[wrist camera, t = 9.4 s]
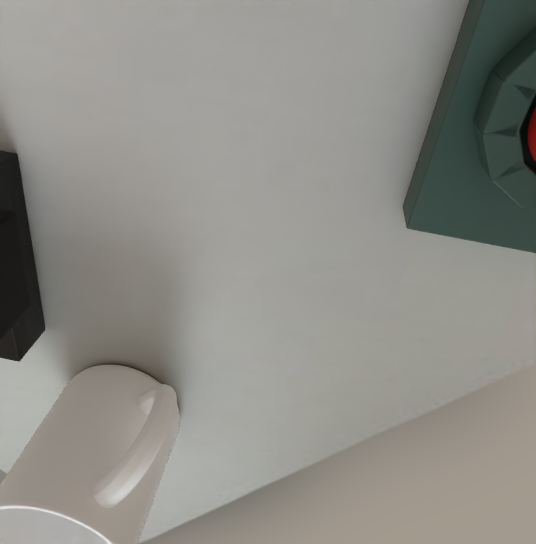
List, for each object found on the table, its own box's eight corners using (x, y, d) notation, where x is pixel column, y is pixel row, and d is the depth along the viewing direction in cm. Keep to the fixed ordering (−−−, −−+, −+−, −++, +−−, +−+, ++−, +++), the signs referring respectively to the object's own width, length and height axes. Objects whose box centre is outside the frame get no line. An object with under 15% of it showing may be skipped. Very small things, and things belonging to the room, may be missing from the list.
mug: (143, 310, 29) (57, 456, 21) (242, 388, 32) (202, 547, 23) (49, 395, 35) (-48, 536, 27) (139, 455, 38) (77, 602, 29)
